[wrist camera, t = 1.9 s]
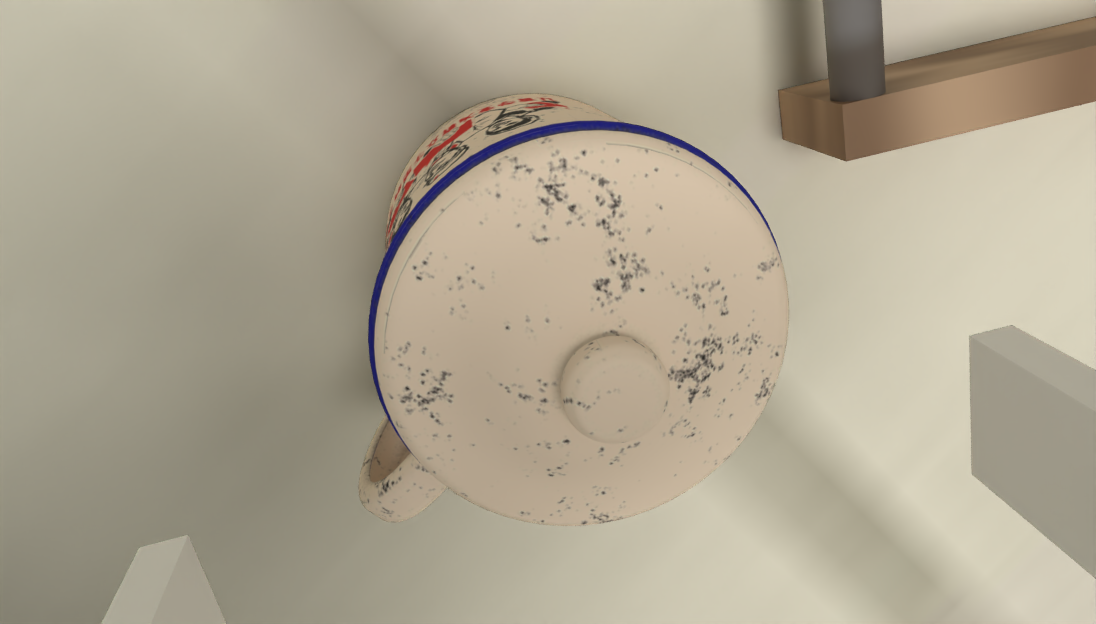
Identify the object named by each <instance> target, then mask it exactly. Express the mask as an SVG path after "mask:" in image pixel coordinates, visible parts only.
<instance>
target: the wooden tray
mask: <svg viewBox="0 0 1096 624" xmlns="http://www.w3.org/2000/svg"><path fill="white" fill-rule="evenodd" d="M823 9H824V23H825V36H826V50H827V63H828V77H829V79H825V80H821V81H816V82H812V83H808V84H804V85H799V86H795V87H791V88H786V89H782V90H778V92H779V103H780V113H781V123H782V134H783V139H784V140H787V141H790V142H793V143H795V144H798V145H801V146H804V147H807V148H810V149H812V150H815V151H818V152H821V153H824V154H827V155H829V156H832V157H835V158H838V159H841V160H844V161H850V160H854V159H858V158H862V157H866V156H871V155H875V154H879V153H883V152H887V151H891V150H895V149H900V148H904V147H908V146H912V145H916V144H920V143H924V142H929V141H933V140H937V139H941V138H945V137H949V136H953V135H958V134H962V133H966V132H970V131H974V130H978V129H983V128H987V127H991V126H995V125H999V124H1003V123H1007V122H1012V121H1016V120H1020V119H1024V118H1028V117H1032V116H1036V115H1041V114H1045V113H1049V112H1053V111H1057V110H1061V109H1065V108H1070V107H1074V106H1078V105H1082V104H1086V103H1090V102H1094V101H1096V17H1092V18H1088V19H1083V20H1079V21H1075V22H1070V23H1066V24H1062V25H1057V26H1053V27H1049V28H1045V29H1040V30H1036V31H1032V32H1027V33H1023V34H1019V35H1014V36H1010V37H1006V38H1002V39H997V40H993V41H989V42H984V43H980V44H976V45H971V46H967V47H963V48H958V49H954V50H950V51H946V52H941V53H937V54H933V55H928V56H924V57H920V58H915V59H911V60H907V61H903V62H898V63H894V64H890V65H885V66H884V46H883V26H882V7H881V0H823Z"/></svg>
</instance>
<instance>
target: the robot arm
mask: <svg viewBox="0 0 1096 624" xmlns="http://www.w3.org/2000/svg"><path fill="white" fill-rule="evenodd" d="M969 350H970V409H971V468H972V475H973V476H975V477H976V478H977V479H978V480H979V481H980V482H982V483H983V484H984V485H985V486H986V487H988V488H989V489H990V490H991V491H992V492H994V493H995V494H996V495H997V496H998V497H999V498H1001V499H1002V500H1003V501H1004V502H1005V503H1007V504H1008V505H1009V506H1010V507H1011V508H1012V509H1014V510H1015V511H1016V512H1017V513H1018V514H1020V515H1021V516H1022V517H1023V518H1024V519H1026V520H1027V521H1028V522H1029V523H1030V524H1031V525H1033V526H1034V527H1035V528H1036V529H1037V530H1039V531H1040V532H1041V533H1042V534H1043V535H1044V536H1046V537H1047V538H1048V539H1049V540H1050V541H1052V542H1053V543H1054V544H1055V545H1056V546H1058V547H1059V548H1060V549H1061V550H1062V551H1063V552H1065V553H1066V554H1067V555H1068V556H1069V557H1071V558H1072V559H1073V560H1074V561H1075V562H1076V563H1078V564H1079V565H1080V566H1081V567H1082V568H1084V569H1085V570H1086V571H1087V572H1088V573H1090V574H1091V575H1092V576H1093V577H1094V578H1095V579H1096V370H1094V369H1093V368H1091V367H1089V366H1087V365H1085V364H1083V363H1081V362H1080V361H1078V360H1076V359H1074V358H1072V357H1070V356H1068V355H1067V354H1065V353H1063V352H1061V351H1059V350H1057V349H1055V348H1054V347H1052V346H1050V345H1048V344H1046V343H1044V342H1042V341H1041V340H1039V339H1037V338H1035V337H1033V336H1031V335H1029V334H1028V333H1026V332H1024V331H1022V330H1020V329H1018V328H1016V327H1015V326H1013V325H1010V326H1006V327H1002V328H998V329H994V330H990V331H986V332H982V333H978V334H974V335H970V336H969ZM101 624H226V622H225V619H224V617H223V615H222V612H221V610H220V608H219V605H218V603H217V601H216V598H215V596H214V594H213V591H212V589H211V587H210V584H209V582H208V580H207V577H206V575H205V573H204V570H203V568H202V566H201V563H200V561H199V559H198V557H197V554H196V552H195V550H194V547H193V545H192V543H191V540H190V538H189V536H188V535H185V536H181V537H177V538H173V539H170V540H166V541H162V542H158V543H154V544H150V545H146V546H142V547H139V549H138V551H137V553H136V555H135V557H134V559H133V561H132V563H131V565H130V567H129V569H128V571H127V573H126V575H125V577H124V579H123V581H122V583H121V585H120V587H119V589H118V591H117V593H116V595H115V597H114V599H113V601H112V603H111V605H110V607H109V609H108V611H107V613H106V615H105V617H104V619H103V621H102V623H101Z"/></svg>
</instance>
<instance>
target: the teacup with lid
mask: <svg viewBox="0 0 1096 624" xmlns="http://www.w3.org/2000/svg"><path fill="white" fill-rule="evenodd" d="M788 324H789V301H788V291H787V283H786V278H785V273H784V268H783V265H782V261H781V257H780V254H779V251H778V247H777V244H776V241H775V239H774V236H773V234H772V232H771V230H770V227H769V225H768V223H767V221H766V219H765V218H764V216H763V214H762V213H761V211H760V209H759V207H758V206H757V204H756V203H755V202H754V200H753V199H752V198H751V196H750V195H749V193H748V192H747V191H746V190H745V189H744V187H743V186H742V185H741V184H740V183H739V182H738V181H737V180H736V179H735V178H734V177H733V175H731V174H730V173H729V172H728V171H727V170H726V169H725V168H723V167H722V166H721V165H720V164H719V163H718V162H716V161H715V160H714V159H712V158H711V157H709V156H708V155H706V154H705V153H704V152H702V151H701V150H699V149H697V148H695V147H693V146H692V145H690V144H688V143H686V142H684V141H682V140H680V139H678V138H675V137H673V136H671V135H668V134H666V133H663V132H660V131H657V130H654V129H650V128H647V127H643V126H639V125H633V124H628V123H623V122H620V121H619V120H617V119H615V118H613V117H611V116H609V115H607V114H605V113H604V112H602V111H600V110H598V109H596V108H594V107H592V106H590V105H587V104H585V103H582V102H580V101H576V100H573V99H570V98H566V97H561V96H555V95H547V94H518V95H510V96H505V97H500V98H496V99H492V100H489V101H486V102H483V103H480V104H478V105H476V106H473V107H471V108H469V109H467V110H465V111H463V112H461V113H460V114H458V115H456V116H454V117H453V118H451V119H450V120H449V121H447V122H446V123H444V124H443V125H442V126H440V127H439V128H438V129H437V130H436V131H435V132H434V133H432V134H431V135H430V136H429V137H428V138H427V139H426V140H425V141H424V143H423V144H422V145H421V146H420V147H419V148H418V150H417V151H416V152H415V154H414V155H413V156H412V157H411V159H410V160H409V162H408V164H407V165H406V167H405V169H404V170H403V172H402V174H401V176H400V179H399V181H398V183H397V185H396V188H395V191H394V193H393V196H392V200H391V204H390V208H389V212H388V219H387V226H386V243H385V257H384V259H383V262H382V265H381V267H380V270H379V273H378V276H377V279H376V283H375V287H374V291H373V295H372V300H371V307H370V315H369V332H368V343H369V355H370V363H371V369H372V374H373V379H374V383H375V386H376V389H377V392H378V396H379V399H380V401H381V404H382V406H383V408H384V411H385V413H386V415H385V417H384V418H383V420H382V422H381V424H380V425H379V427H378V429H377V431H376V433H375V435H374V437H373V439H372V442H371V444H370V446H369V449H368V451H367V454H366V456H365V459H364V462H363V466H362V469H361V473H360V479H359V497H360V501H361V503H362V504H363V506H364V507H365V508H366V509H367V510H368V511H370V512H371V513H373V514H374V515H376V516H378V517H379V518H381V519H383V520H385V521H387V522H401V521H404V520H407V519H409V518H412V517H413V516H415V515H417V514H419V513H420V512H421V511H423V510H424V509H425V508H427V507H428V506H429V505H430V504H431V503H432V502H433V501H434V500H436V499H437V498H438V497H439V496H440V495H441V494H442V493H443V491H444V490H445V489H446V488H447V487H448V488H449V489H450V490H452V491H453V492H454V493H456V494H458V495H459V496H461V497H463V498H464V499H466V500H468V501H469V502H471V503H473V504H476V505H478V506H480V507H482V508H484V509H486V510H489V511H492V512H494V513H497V514H500V515H503V516H505V517H509V518H513V519H517V520H521V521H525V522H532V523H538V524H545V525H558V526H580V525H590V524H599V523H605V522H610V521H616V520H619V519H623V518H627V517H630V516H634V515H637V514H640V513H642V512H645V511H648V510H651V509H653V508H655V507H657V506H660V505H662V504H664V503H666V502H668V501H670V500H672V499H674V498H676V497H677V496H679V495H681V494H683V493H685V492H686V491H688V490H689V489H690V488H692V487H693V486H695V485H696V484H698V483H699V482H701V481H702V480H703V479H705V478H706V477H707V476H708V475H710V474H711V473H712V472H713V471H715V470H716V469H717V468H718V467H719V466H720V465H721V464H722V463H723V462H724V461H725V460H726V459H727V458H728V457H729V456H730V455H731V454H732V453H733V452H734V451H735V450H736V448H737V447H738V446H739V445H740V444H741V443H742V441H743V440H744V439H745V437H746V436H747V435H748V433H749V432H750V431H751V429H752V428H753V426H754V425H755V423H756V422H757V420H758V418H759V417H760V415H761V414H762V412H763V410H764V408H765V406H766V404H767V402H768V400H769V398H770V396H771V393H772V391H773V388H774V386H775V383H776V381H777V378H778V375H779V372H780V368H781V365H782V362H783V358H784V353H785V348H786V342H787V334H788Z"/></svg>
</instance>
